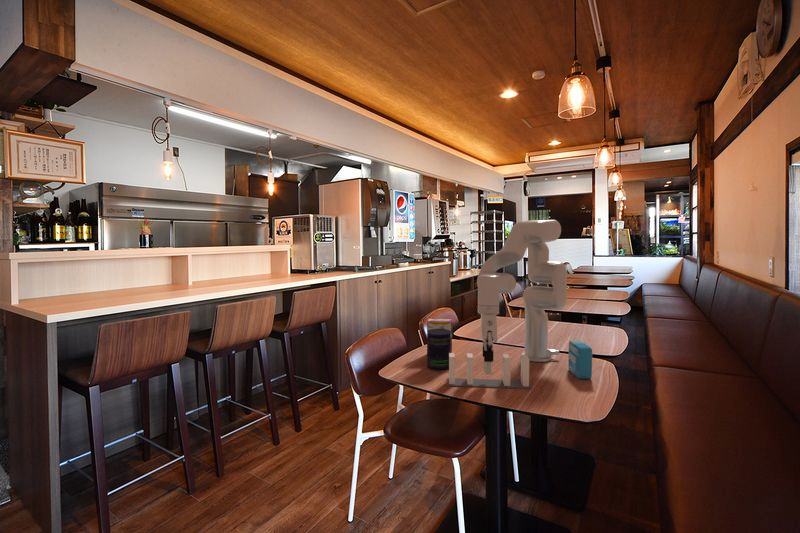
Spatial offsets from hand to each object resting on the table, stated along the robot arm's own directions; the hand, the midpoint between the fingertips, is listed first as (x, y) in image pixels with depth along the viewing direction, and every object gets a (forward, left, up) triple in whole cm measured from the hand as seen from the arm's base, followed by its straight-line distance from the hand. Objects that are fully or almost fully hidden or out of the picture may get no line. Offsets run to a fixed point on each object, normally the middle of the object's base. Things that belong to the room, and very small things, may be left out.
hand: (487, 358), depth 146 cm
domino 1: (+13, 0, -9) cm, 16 cm away
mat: (0, 0, -9) cm, 9 cm away
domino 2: (+6, 0, -9) cm, 11 cm away
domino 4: (-13, 0, -9) cm, 16 cm away
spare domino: (0, 0, -5) cm, 5 cm away
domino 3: (-7, 0, -9) cm, 11 cm away
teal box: (-36, -13, -10) cm, 40 cm away
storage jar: (+18, -17, -10) cm, 27 cm away
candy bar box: (+18, -33, -10) cm, 39 cm away
